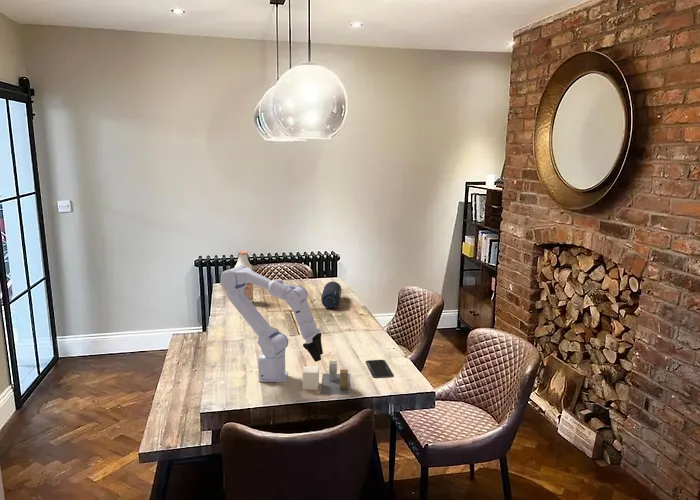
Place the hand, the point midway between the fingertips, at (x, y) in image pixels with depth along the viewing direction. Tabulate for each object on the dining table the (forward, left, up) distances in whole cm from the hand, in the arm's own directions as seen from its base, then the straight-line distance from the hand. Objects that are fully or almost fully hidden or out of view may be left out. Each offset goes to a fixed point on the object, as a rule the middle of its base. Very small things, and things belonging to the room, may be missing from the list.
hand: (319, 357), depth 174 cm
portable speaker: (0, +98, -11) cm, 99 cm away
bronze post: (+9, -2, -10) cm, 14 cm away
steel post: (+5, +5, -10) cm, 12 cm away
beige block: (-3, -1, -11) cm, 11 cm away
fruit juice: (-47, +96, -11) cm, 108 cm away
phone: (+22, +14, -11) cm, 28 cm away
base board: (+6, +1, -11) cm, 12 cm away
